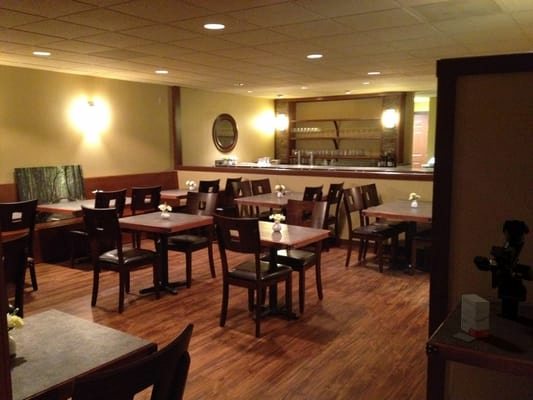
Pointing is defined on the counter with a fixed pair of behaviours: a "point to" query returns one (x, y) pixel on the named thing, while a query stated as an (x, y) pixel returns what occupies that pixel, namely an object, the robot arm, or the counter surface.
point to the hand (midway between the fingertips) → (492, 287)
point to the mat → (464, 337)
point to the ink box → (475, 316)
